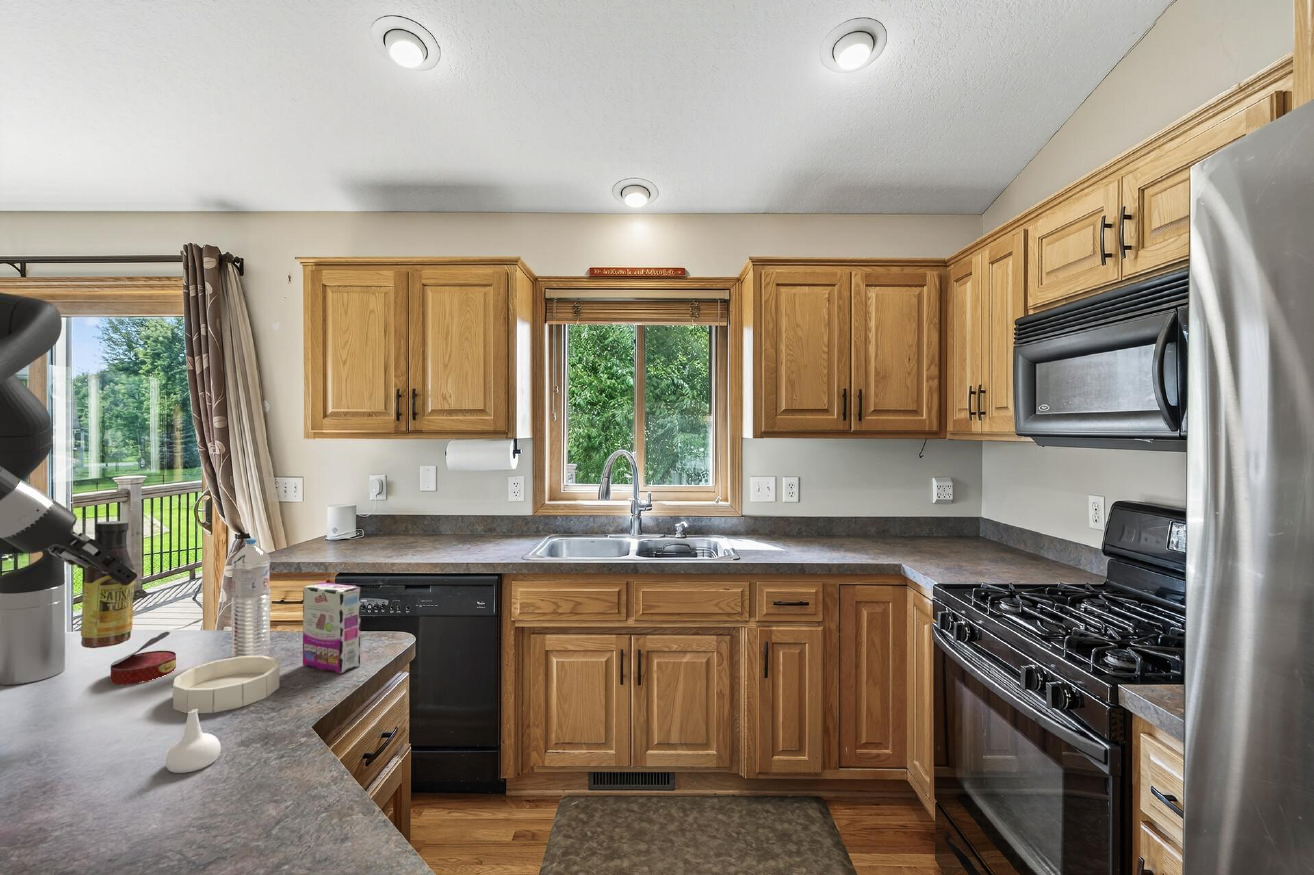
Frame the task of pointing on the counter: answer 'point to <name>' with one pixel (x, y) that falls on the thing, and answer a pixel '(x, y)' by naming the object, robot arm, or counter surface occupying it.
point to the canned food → (143, 664)
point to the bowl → (226, 684)
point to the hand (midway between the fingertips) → (120, 578)
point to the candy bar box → (331, 627)
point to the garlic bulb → (193, 748)
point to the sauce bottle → (107, 593)
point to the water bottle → (250, 602)
